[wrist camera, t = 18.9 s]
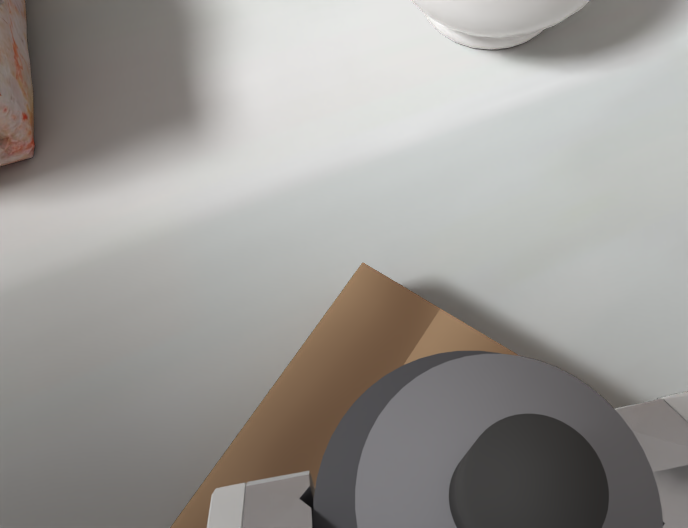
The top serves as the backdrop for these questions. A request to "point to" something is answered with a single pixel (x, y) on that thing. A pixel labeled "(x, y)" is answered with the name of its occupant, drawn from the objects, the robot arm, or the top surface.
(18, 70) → the food item
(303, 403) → the socket
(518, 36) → the flower vase
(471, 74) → the top surface
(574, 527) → the bottle
